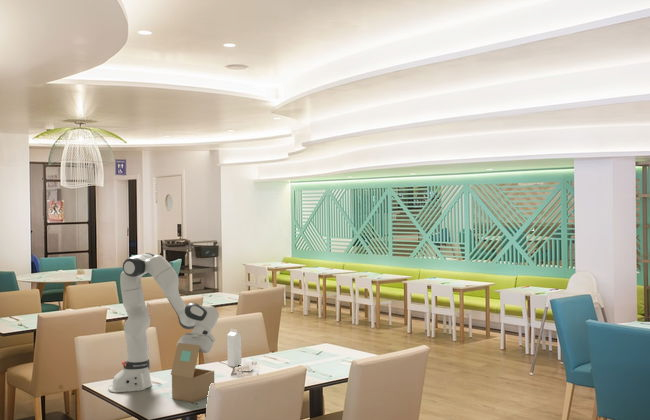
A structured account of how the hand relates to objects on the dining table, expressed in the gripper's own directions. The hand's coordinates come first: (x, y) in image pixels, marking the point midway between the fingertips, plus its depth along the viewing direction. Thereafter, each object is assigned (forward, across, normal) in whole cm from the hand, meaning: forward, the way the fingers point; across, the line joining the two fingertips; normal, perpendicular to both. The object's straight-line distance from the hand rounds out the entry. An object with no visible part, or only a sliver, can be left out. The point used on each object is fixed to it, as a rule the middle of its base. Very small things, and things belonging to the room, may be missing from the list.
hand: (187, 357), depth 326 cm
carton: (+12, 0, +17) cm, 21 cm away
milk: (-31, -23, +61) cm, 72 cm away
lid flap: (+2, 0, 0) cm, 2 cm away
